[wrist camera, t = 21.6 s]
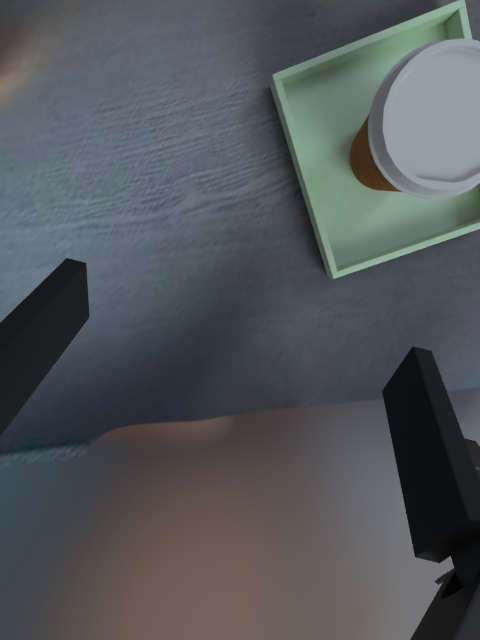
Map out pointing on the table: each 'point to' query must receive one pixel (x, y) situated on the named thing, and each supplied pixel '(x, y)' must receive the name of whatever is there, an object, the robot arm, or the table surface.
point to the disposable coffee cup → (424, 124)
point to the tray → (336, 140)
